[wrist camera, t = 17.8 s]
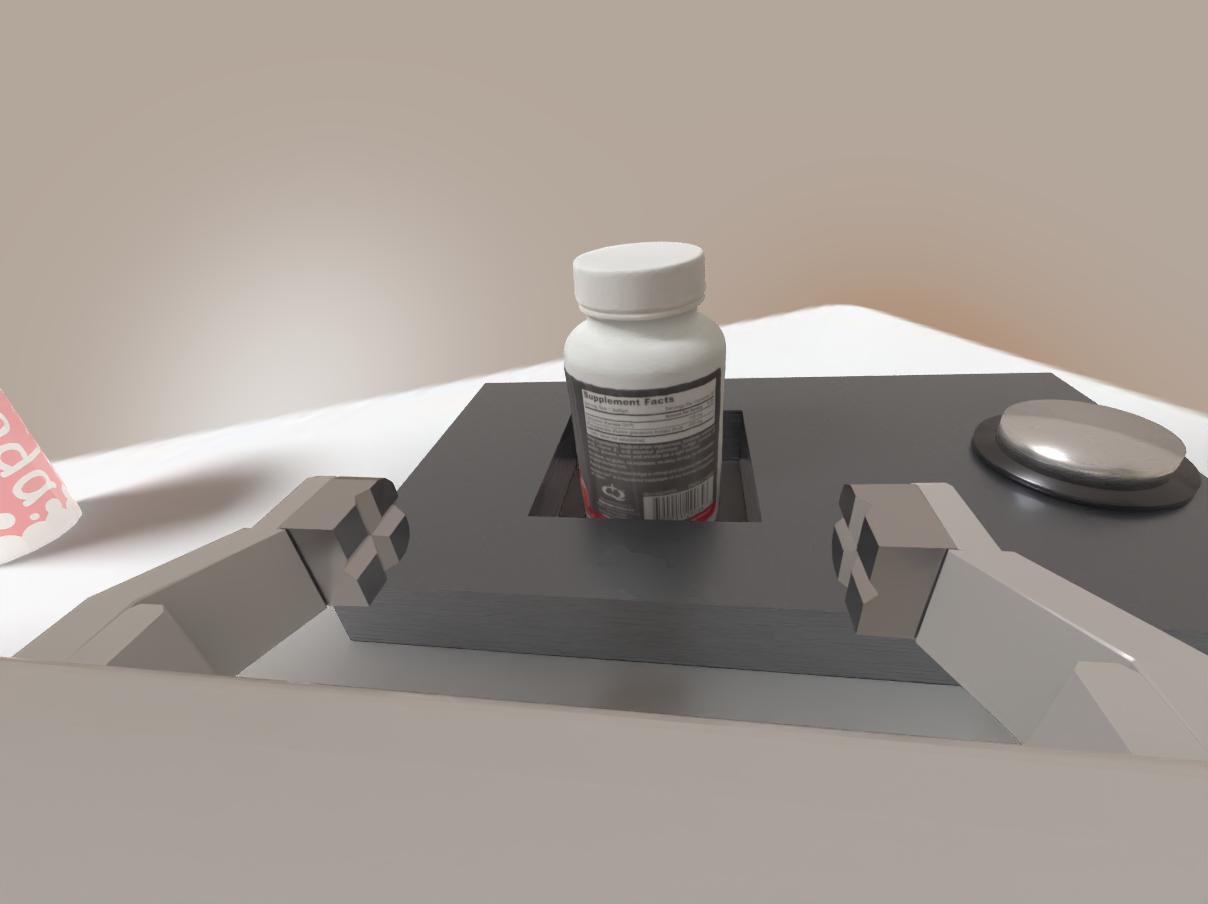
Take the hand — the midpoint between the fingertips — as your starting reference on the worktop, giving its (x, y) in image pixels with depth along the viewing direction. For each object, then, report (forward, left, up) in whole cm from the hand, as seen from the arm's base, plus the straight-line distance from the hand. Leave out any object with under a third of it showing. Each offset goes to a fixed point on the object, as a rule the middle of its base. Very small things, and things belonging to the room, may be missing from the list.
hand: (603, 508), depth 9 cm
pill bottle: (0, +9, -7) cm, 11 cm away
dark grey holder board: (+4, +9, -7) cm, 12 cm away
